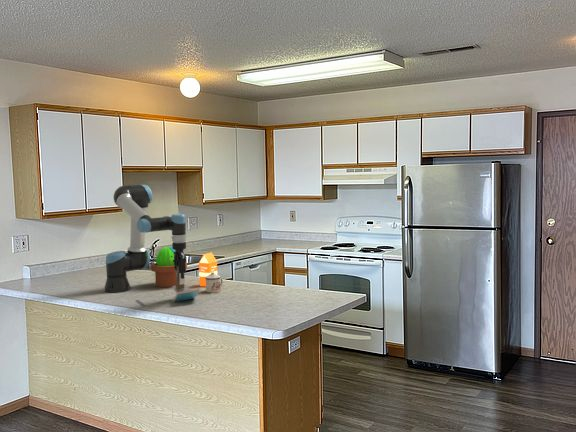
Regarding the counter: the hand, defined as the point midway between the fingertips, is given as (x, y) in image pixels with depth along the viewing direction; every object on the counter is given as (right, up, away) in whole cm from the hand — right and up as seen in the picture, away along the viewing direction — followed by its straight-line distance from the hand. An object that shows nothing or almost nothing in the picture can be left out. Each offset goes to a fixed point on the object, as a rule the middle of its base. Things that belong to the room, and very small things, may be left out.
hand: (180, 283), depth 307 cm
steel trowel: (+1, -4, -2) cm, 5 cm away
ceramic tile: (+4, -5, -7) cm, 10 cm away
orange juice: (+10, -6, +39) cm, 41 cm away
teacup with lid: (+17, -8, +20) cm, 27 cm away
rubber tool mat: (-16, -10, -5) cm, 20 cm away
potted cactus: (-15, -6, +43) cm, 46 cm away
